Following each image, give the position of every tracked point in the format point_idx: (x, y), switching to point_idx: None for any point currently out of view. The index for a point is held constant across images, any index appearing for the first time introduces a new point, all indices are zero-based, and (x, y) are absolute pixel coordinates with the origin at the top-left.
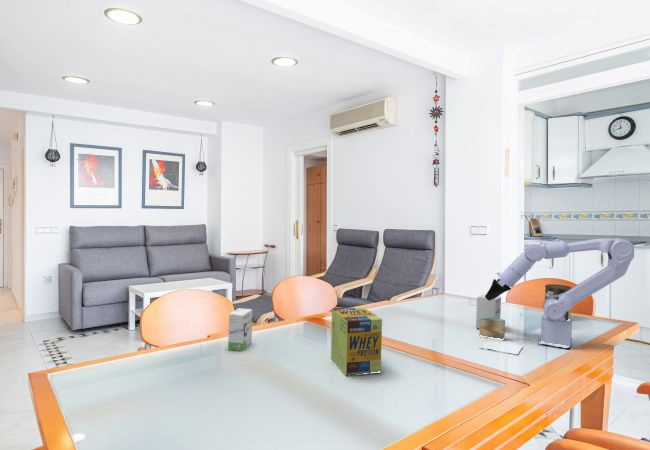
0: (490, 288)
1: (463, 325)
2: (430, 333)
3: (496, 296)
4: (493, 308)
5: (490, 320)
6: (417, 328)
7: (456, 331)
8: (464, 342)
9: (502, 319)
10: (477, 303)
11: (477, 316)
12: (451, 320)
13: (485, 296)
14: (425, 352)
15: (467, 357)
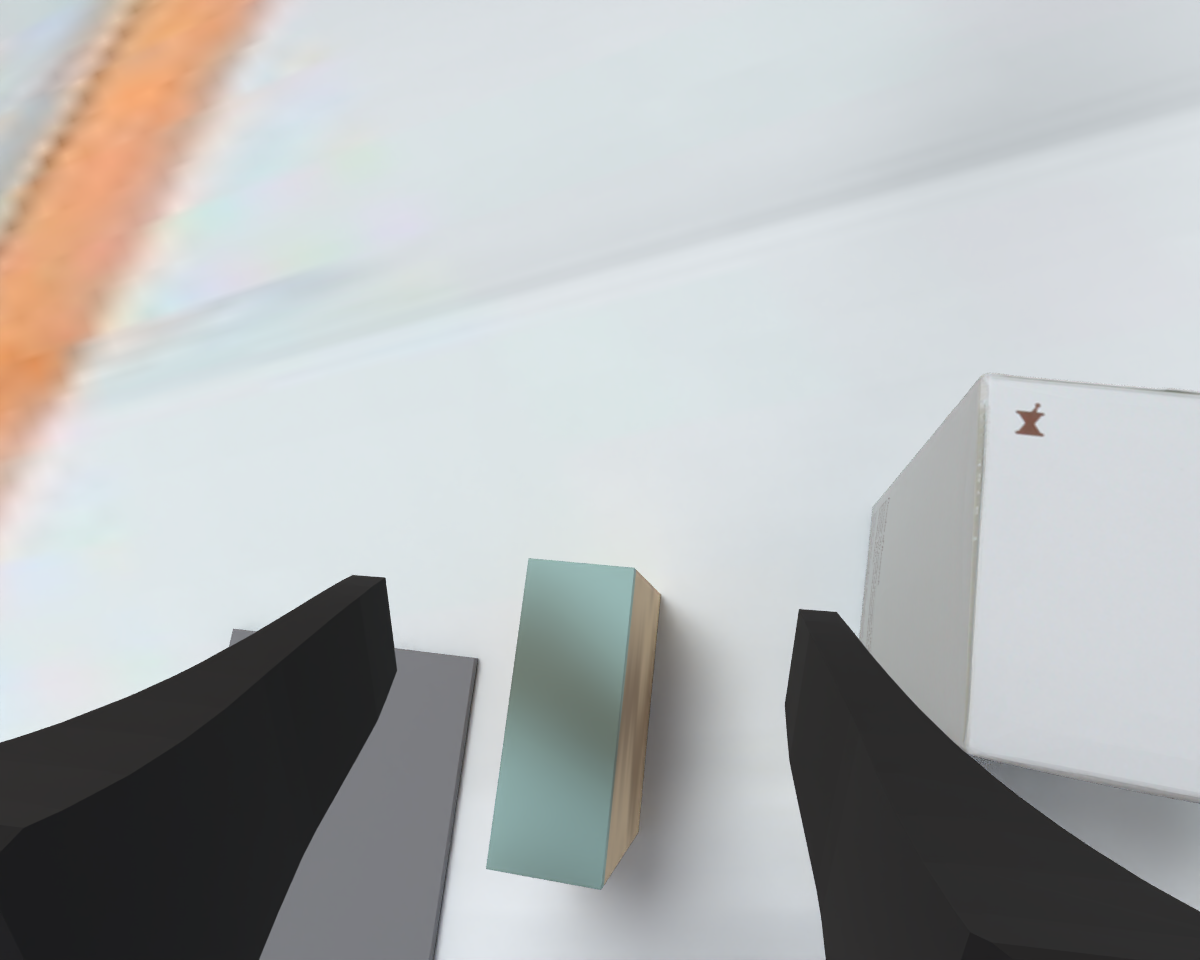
0: (160, 692)
1: (947, 366)
2: (486, 203)
3: (798, 784)
4: (917, 697)
5: (512, 692)
6: (583, 76)
7: (665, 362)
8: (353, 496)
9: (602, 850)
10: (948, 423)
11: (897, 485)
12: (1090, 213)
13: (337, 588)
14: (35, 318)
15: (12, 585)
